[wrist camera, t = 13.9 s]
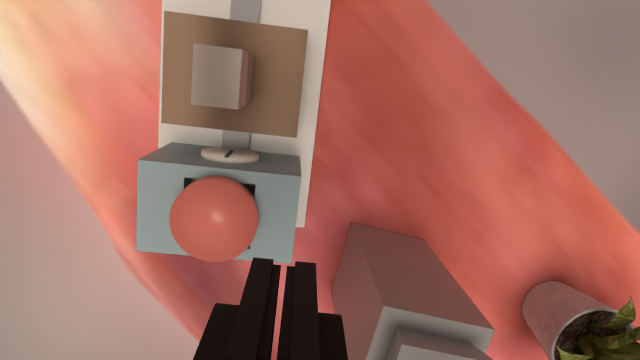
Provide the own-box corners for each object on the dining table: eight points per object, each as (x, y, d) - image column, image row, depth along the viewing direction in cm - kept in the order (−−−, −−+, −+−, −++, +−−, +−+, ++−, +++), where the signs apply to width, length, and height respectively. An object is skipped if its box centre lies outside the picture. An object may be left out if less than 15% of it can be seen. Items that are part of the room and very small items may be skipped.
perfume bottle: (351, 222, 36) (405, 360, 18) (423, 239, 36) (540, 387, 19) (330, 290, 37) (362, 477, 20) (400, 305, 38) (489, 498, 20)
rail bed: (349, -168, 28) (359, -212, 24) (303, 221, 35) (305, 241, 31) (174, -199, 27) (151, -252, 23) (162, 208, 34) (142, 227, 30)
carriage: (306, 34, 29) (311, 16, 20) (296, 132, 31) (297, 153, 22) (177, 17, 28) (125, -10, 19) (174, 118, 30) (124, 135, 21)
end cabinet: (300, 151, 32) (302, 170, 26) (292, 226, 34) (291, 264, 27) (171, 137, 31) (137, 153, 25) (169, 215, 33) (136, 251, 26)
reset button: (264, 173, 27) (260, 184, 24) (257, 246, 28) (253, 265, 25) (184, 165, 26) (170, 175, 24) (181, 239, 28) (167, 258, 25)
